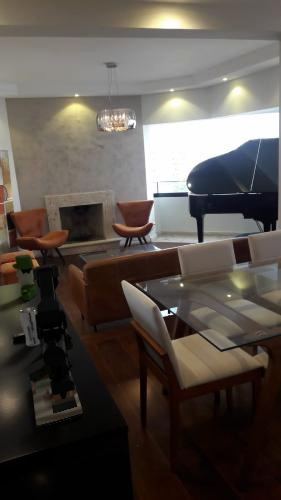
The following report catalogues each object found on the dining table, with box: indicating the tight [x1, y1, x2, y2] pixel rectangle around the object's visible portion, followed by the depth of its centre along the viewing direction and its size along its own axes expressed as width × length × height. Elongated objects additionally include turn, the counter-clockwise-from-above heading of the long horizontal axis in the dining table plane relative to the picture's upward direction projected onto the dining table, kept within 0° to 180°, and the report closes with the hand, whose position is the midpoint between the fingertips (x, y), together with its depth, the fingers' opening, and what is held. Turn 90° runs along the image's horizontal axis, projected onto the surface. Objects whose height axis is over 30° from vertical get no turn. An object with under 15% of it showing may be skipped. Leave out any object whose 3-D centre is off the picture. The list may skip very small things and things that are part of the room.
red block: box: [53, 391, 71, 399], centre depth 119 cm, size 5×5×4 cm
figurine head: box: [12, 254, 38, 302], centre depth 225 cm, size 22×12×25 cm, turn 10°
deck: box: [30, 370, 84, 426], centre depth 119 cm, size 23×13×4 cm, turn 19°
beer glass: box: [19, 306, 40, 348], centre depth 160 cm, size 7×7×15 cm
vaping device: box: [39, 326, 45, 355], centre depth 152 cm, size 3×5×12 cm, turn 135°
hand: (63, 398), depth 111 cm, fingers closed
